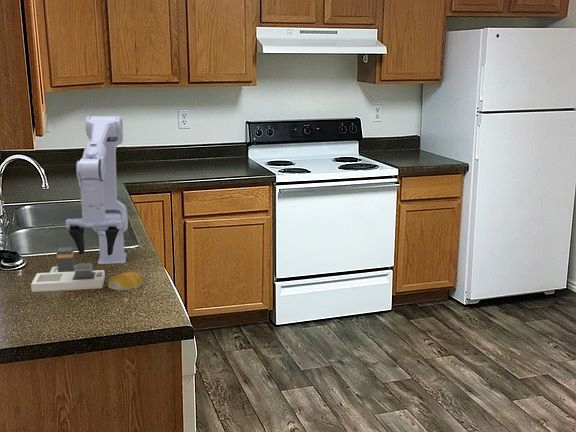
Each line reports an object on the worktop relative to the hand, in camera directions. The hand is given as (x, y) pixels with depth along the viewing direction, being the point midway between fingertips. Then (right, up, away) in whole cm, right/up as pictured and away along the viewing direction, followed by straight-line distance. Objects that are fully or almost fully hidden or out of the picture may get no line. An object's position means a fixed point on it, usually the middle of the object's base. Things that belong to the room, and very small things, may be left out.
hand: (96, 253), depth 175 cm
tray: (-12, -7, +14) cm, 20 cm away
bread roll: (+7, -10, +5) cm, 13 cm away
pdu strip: (-9, -9, +5) cm, 13 cm away
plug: (-12, -6, +14) cm, 19 cm away
